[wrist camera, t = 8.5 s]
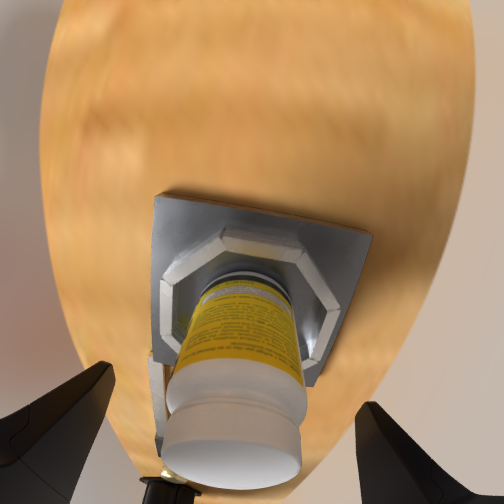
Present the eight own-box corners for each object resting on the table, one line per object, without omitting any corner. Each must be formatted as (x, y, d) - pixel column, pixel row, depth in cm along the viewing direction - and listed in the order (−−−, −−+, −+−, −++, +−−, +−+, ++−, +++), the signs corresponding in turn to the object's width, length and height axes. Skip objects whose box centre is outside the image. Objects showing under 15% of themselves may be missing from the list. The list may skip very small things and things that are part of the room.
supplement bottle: (185, 278, 13) (113, 424, 5) (283, 258, 13) (309, 419, 5) (214, 353, 15) (187, 491, 7) (299, 340, 14) (320, 486, 6)
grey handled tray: (263, 467, 22) (263, 497, 18) (160, 450, 22) (152, 479, 18) (366, 230, 13) (400, 261, 9) (147, 190, 12) (108, 209, 9)
